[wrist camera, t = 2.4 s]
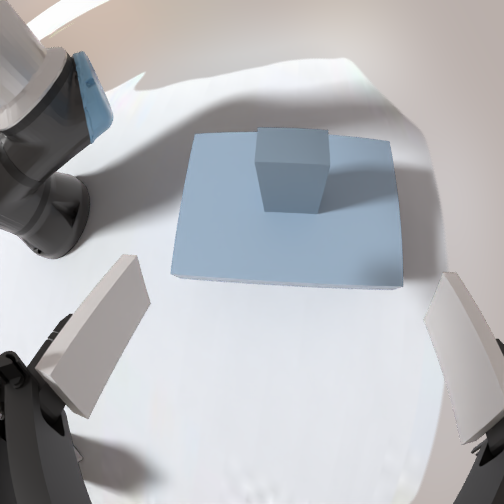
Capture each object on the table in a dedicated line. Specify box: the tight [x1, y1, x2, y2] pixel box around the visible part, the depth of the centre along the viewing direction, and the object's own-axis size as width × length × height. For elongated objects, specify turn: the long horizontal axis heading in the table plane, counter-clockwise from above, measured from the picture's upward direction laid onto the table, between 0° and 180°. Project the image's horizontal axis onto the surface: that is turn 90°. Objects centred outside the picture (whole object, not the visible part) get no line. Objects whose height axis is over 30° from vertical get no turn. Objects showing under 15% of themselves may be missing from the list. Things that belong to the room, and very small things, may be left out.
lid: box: [171, 127, 403, 290], centre depth 24 cm, size 22×16×12 cm
